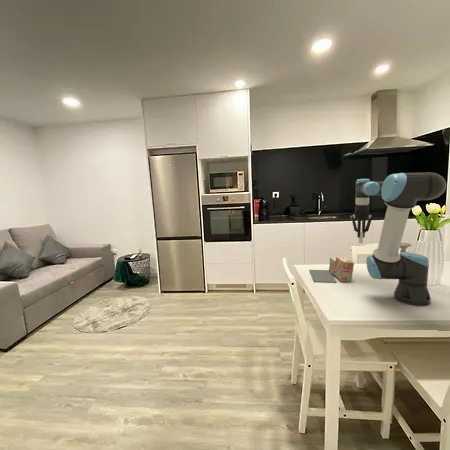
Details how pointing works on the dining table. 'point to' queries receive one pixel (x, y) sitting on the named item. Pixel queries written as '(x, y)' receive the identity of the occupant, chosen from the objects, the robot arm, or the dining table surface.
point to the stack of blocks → (341, 268)
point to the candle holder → (404, 247)
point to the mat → (322, 276)
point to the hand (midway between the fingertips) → (360, 242)
